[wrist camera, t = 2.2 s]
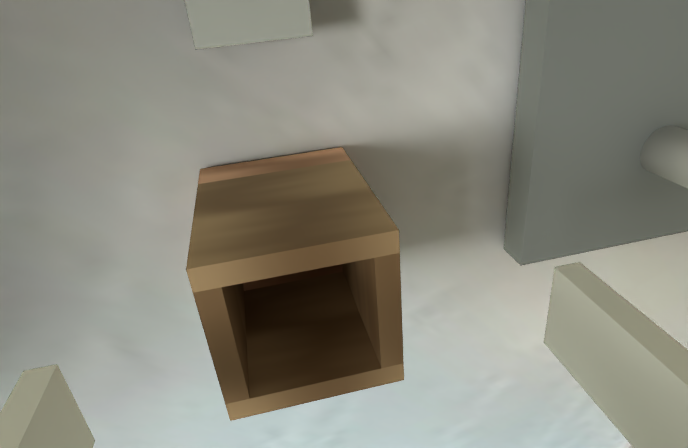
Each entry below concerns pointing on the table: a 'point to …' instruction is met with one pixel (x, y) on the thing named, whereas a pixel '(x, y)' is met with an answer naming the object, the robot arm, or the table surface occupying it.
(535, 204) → the pinboard
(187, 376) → the table surface
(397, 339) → the sleeve
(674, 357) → the robot arm
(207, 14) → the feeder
